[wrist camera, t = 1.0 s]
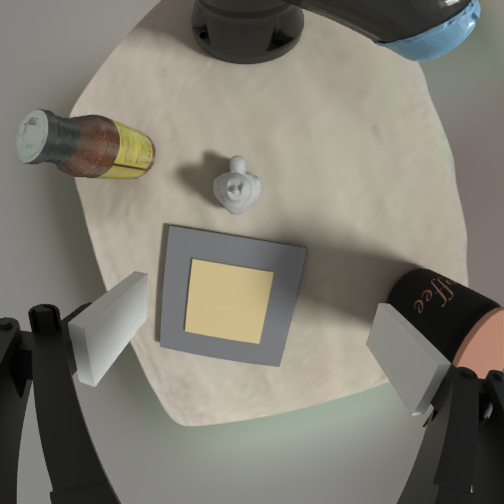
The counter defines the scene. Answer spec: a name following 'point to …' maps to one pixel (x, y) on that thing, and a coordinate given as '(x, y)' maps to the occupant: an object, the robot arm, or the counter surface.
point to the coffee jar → (453, 319)
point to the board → (229, 295)
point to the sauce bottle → (84, 145)
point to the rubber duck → (237, 187)
